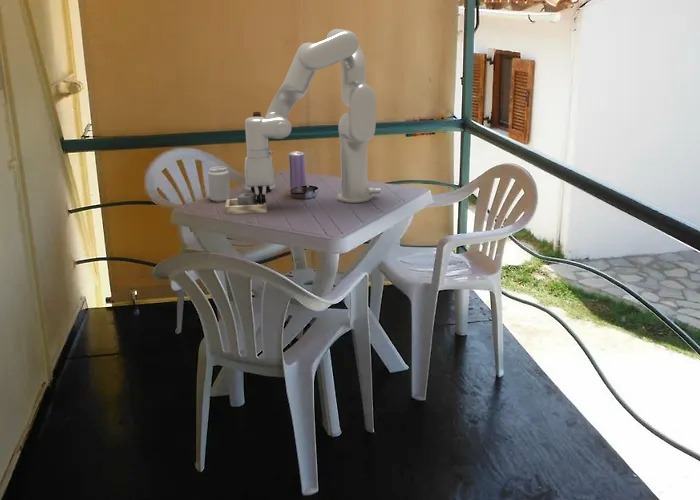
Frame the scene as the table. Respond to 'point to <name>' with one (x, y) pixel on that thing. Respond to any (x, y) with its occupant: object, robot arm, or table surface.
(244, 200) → the dice cube
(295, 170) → the beverage can
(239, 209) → the bay
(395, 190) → the table surface
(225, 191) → the can
